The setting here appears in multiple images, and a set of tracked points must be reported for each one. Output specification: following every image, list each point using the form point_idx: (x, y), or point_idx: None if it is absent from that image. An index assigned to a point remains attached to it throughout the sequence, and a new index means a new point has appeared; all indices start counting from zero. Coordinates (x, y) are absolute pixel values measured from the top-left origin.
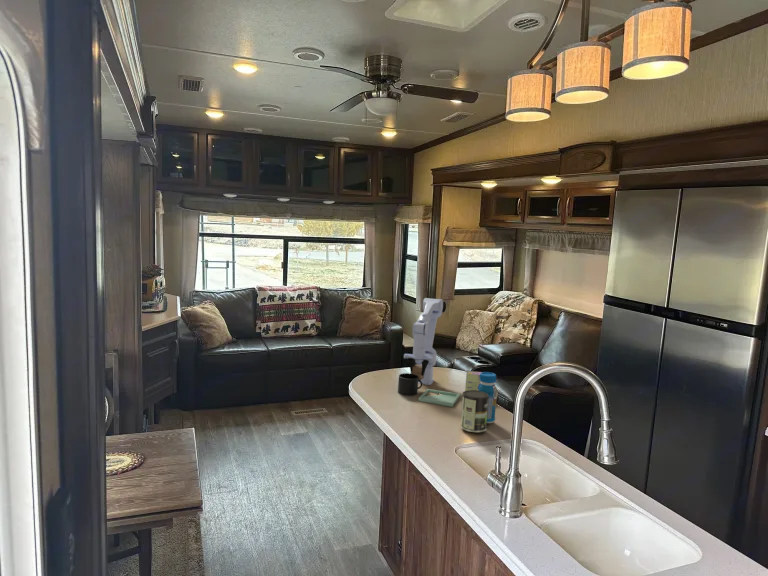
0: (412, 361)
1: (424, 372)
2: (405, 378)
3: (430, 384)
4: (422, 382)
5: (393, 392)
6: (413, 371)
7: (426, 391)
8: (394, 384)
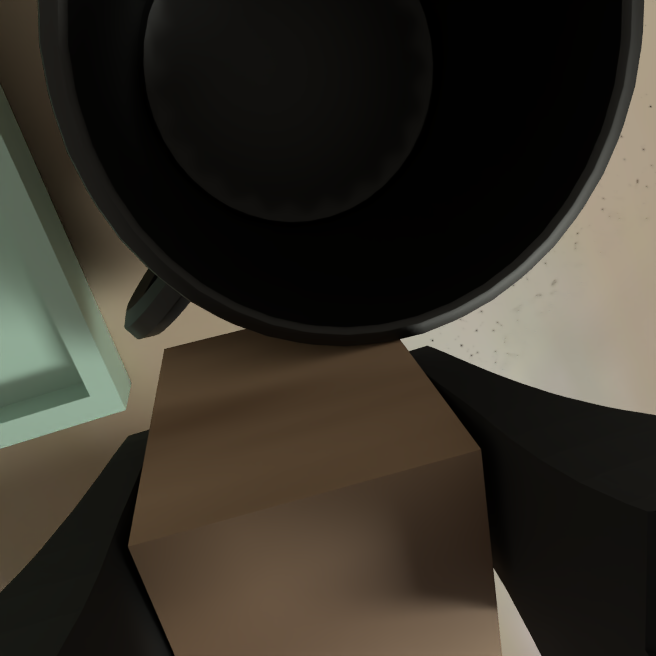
0: (629, 595)
1: None
2: None
3: None
4: None
5: None
6: (390, 379)
7: (47, 290)
8: (632, 352)
